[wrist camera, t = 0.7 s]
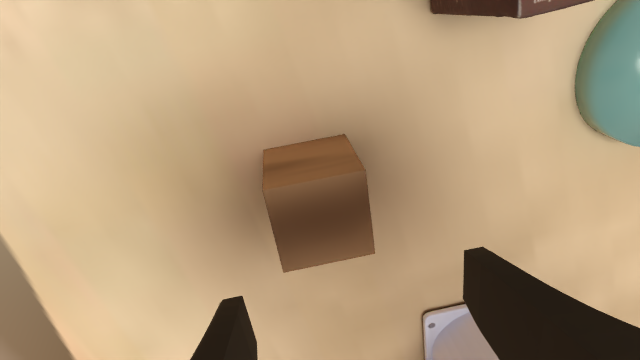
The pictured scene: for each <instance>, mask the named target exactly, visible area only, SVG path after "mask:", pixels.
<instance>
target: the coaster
mask: <svg viewBox="0 0 640 360" xmlns="http://www.w3.org/2000/svg"><path fill="white" fill-rule="evenodd" d="M575 97H576V102H577V106H578V109H579V111H580V114H581V115H582V117H583V119H584V120H585V121H586V123H587V124H588V125H589V126H590V127H591V128H593V129H594V130H595V131H597V132H599V133H601V134H603V135H606V136H608V137H611V138H613V139H616V140H619V141H621V142H624V143H626V144H629V145H633V146H638V147H640V0H617V1H616V2H615V3H614V4H613V5H612V6H611V7H610V9H609V10H608V11H607V12H606V13H605V14H604V16H603V17H602V18H601V19H600V21H599V22H598V24H597V25H596V27H595V28H594V30H593V31H592V33H591V35H590V36H589V38H588V40H587V42H586V44H585V46H584V49H583V51H582V53H581V56H580V60H579V63H578V67H577V72H576V78H575Z"/></svg>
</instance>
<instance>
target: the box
mask: <svg viewBox="0 0 640 360" xmlns="http://www.w3.org/2000/svg"><path fill="white" fill-rule="evenodd" d="M590 1H593V0H431V5H432V13H433V14H451V15H478V16H496V17H503V16H506V17H513V18H527V17H532V16H535V15H539V14H544V13H547V12H551V11H555V10H560V9H564V8H567V7H571V6H575V5H578V4H582V3H586V2H590Z"/></svg>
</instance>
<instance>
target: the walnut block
mask: <svg viewBox="0 0 640 360" xmlns="http://www.w3.org/2000/svg"><path fill="white" fill-rule="evenodd" d="M263 194H264V198H265V202H266V206H267V210H268V214H269V218H270V222H271V226H272V229H273V233H274V237H275V241H276V245H277V249H278V253H279V257H280V261H281V265H282V269H283V273H284V272H289V271H294V270H299V269H303V268H308V267H313V266H318V265H322V264H327V263H332V262H337V261H342V260H346V259H351V258H356V257H361V256H366V255H370V254H375V248H374V239H373V231H372V222H371V214H370V205H369V196H368V188H367V179H366V171H365V168H364V167H363V165H362V163H361V162H360V160H359V158H358V156H357V155H356V153H355V151H354V149H353V148H352V146H351V144H350V143H349V141H348V139H347V137H346V136H345V134H342V135H337V136H332V137H327V138H322V139H317V140H312V141H307V142H301V143H296V144H291V145H286V146H281V147H276V148H271V149H266V150H264V156H263Z"/></svg>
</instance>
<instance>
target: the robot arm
mask: <svg viewBox="0 0 640 360" xmlns="http://www.w3.org/2000/svg"><path fill="white" fill-rule="evenodd" d="M463 299H464V301H465V303H466V304H463V305H458V306H454V307H449V308H444V309H440V310H435V311H431V312H427V313H426V314H425V315H424V316H423V331H424V350H425V360H640V328H638V327H636V326H633V325H631V324H628V323H626V322H623V321H621V320H619V319H617V318H614V317H612V316H610V315H607V314H605V313H603V312H601V311H598V310H596V309H594V308H592V307H590V306H588V305H586V304H584V303H582V302H580V301H578V300H576V299H574V298H572V297H570V296H568V295H566V294H564V293H562V292H560V291H558V290H556V289H555V288H553V287H551V286H549V285H547V284H546V283H544V282H542V281H540V280H538V279H537V278H535V277H533V276H531V275H530V274H528V273H526V272H525V271H523V270H521V269H519V268H518V267H516V266H514V265H513V264H511V263H509V262H508V261H506V260H504V259H503V258H501V257H499V256H498V255H496V254H494V253H493V252H491V251H489V250H487V249H486V248H484V247H479V248H474V249H469V250H464V284H463ZM430 323H431V324H430ZM190 360H257V341H256V338H255V335H254V332H253V328H252V325H251V322H250V319H249V316H248V313H247V309H246V306H245V303H244V300H243V297H242V296H238V297H234V298H229V299H224V300H222V302H221V303H220V305H219V307H218V309H217V311H216V313H215V315H214V317H213V319H212V321H211V323H210V325H209V327H208V329H207V330H206V332H205V334H204V336H203V338H202V340H201V342H200V343H199V345H198V347H197V349H196V350H195V352H194V354H193V356H192V358H191V359H190Z"/></svg>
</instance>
